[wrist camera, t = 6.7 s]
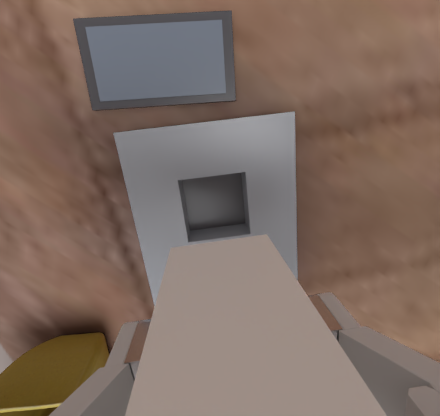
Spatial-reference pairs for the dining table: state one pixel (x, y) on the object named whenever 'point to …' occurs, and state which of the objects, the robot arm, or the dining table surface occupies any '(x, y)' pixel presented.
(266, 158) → the outlet board
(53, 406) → the flower pot
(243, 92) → the dining table surface
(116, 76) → the phone slab
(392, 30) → the dining table surface
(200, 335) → the block
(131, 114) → the dining table surface
